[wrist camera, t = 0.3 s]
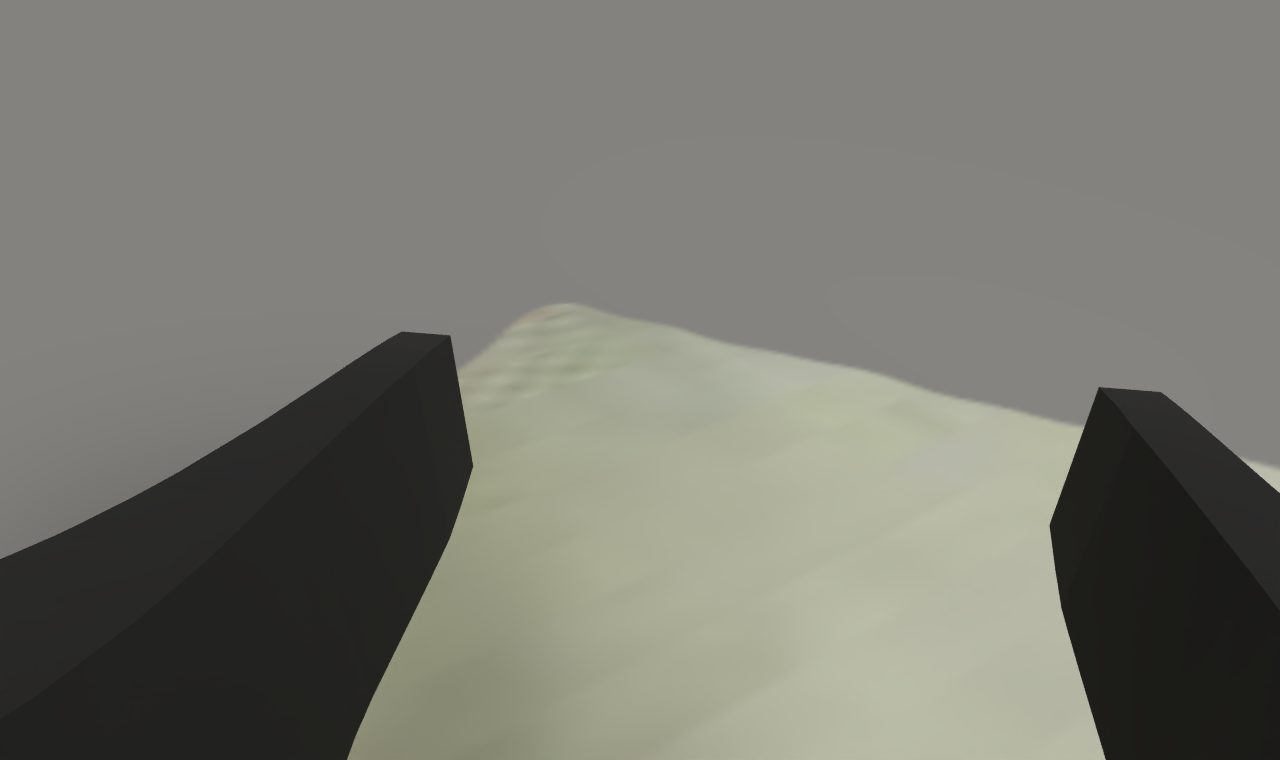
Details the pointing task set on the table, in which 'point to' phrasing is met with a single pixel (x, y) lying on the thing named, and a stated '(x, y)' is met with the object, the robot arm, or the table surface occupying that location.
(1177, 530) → the robot arm
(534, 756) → the table surface
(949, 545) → the table surface
